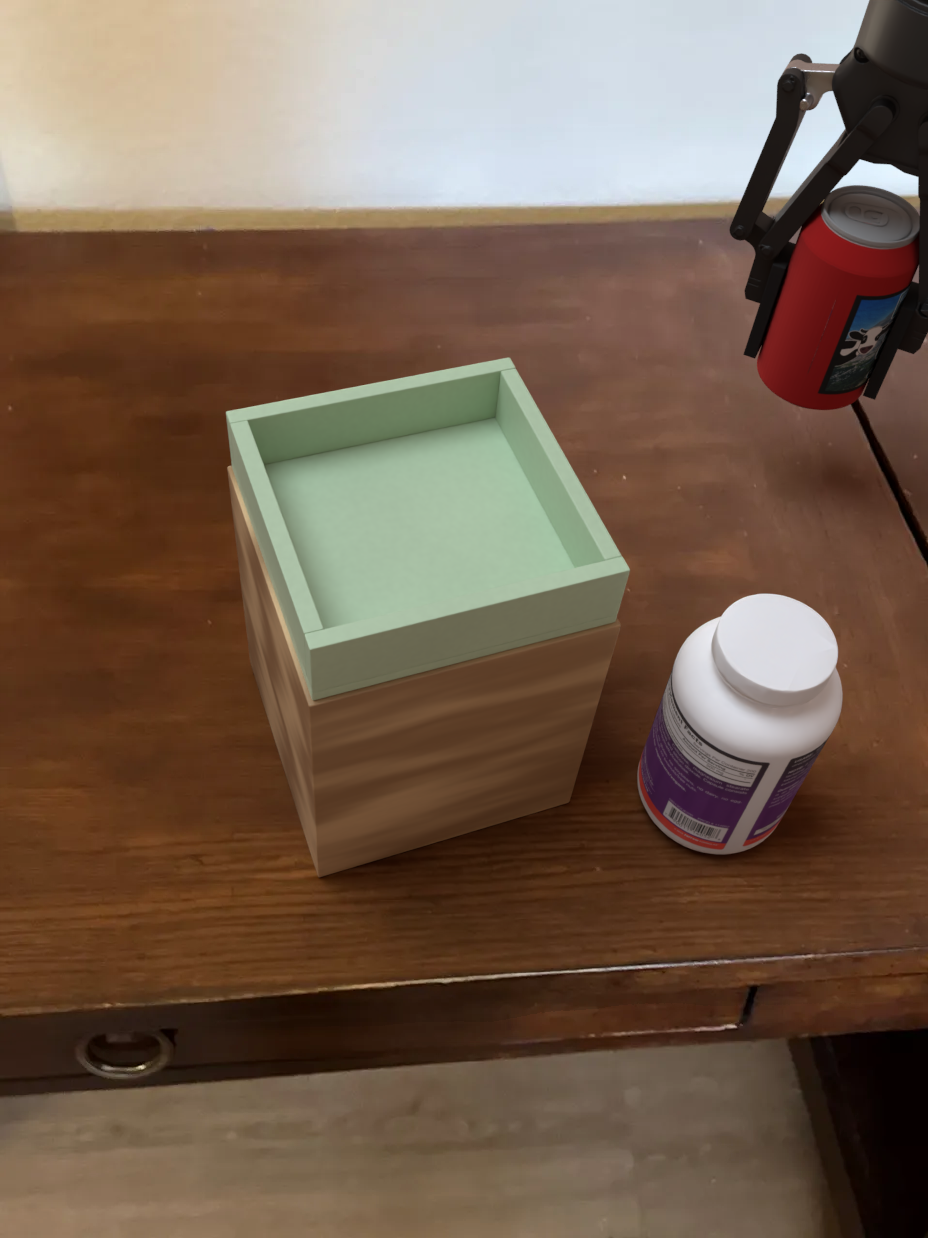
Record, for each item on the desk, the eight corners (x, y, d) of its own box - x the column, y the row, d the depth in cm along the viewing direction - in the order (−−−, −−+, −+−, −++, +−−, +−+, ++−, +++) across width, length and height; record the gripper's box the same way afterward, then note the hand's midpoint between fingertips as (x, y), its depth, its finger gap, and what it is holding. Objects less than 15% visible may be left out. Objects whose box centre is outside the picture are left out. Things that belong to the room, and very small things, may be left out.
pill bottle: (753, 725, 69) (831, 563, 58) (799, 852, 64) (896, 704, 53) (616, 740, 68) (669, 578, 56) (654, 871, 63) (720, 723, 52)
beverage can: (851, 433, 72) (926, 264, 63) (741, 400, 74) (799, 229, 64) (869, 365, 77) (942, 197, 67) (765, 335, 78) (822, 165, 68)
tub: (615, 622, 53) (630, 570, 50) (312, 701, 49) (309, 649, 46) (502, 412, 60) (509, 356, 57) (231, 468, 56) (225, 411, 54)
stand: (569, 803, 65) (621, 624, 53) (318, 878, 62) (308, 706, 49) (478, 606, 73) (504, 409, 60) (250, 662, 69) (226, 465, 57)
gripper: (1190, -1, 56) (985, 381, 74) (780, -107, 60) (680, 280, 78) (1178, 70, 52) (963, 458, 70) (737, -50, 56) (642, 346, 74)
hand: (814, 363), depth 74 cm, fingers closed on beverage can, 7 cm apart
